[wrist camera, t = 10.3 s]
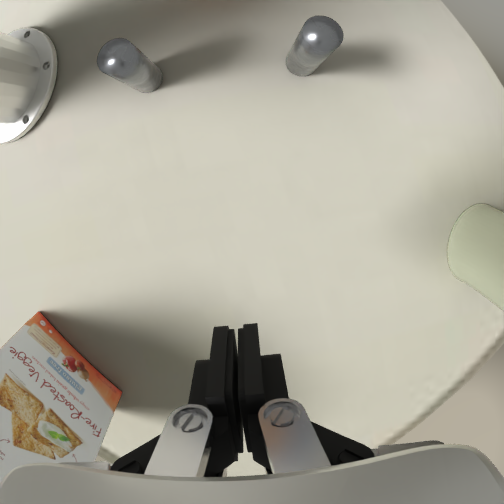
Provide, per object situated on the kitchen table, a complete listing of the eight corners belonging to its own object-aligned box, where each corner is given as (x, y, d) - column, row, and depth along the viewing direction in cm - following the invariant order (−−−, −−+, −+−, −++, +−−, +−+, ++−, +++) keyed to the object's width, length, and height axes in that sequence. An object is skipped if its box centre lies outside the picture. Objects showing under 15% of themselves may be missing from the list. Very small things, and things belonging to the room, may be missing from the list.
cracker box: (125, 389, 34) (72, 539, 14) (99, 406, 35) (47, 538, 15) (40, 306, 30) (-71, 428, 10) (20, 331, 31) (-74, 442, 11)
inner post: (135, 95, 24) (97, 78, 16) (133, 68, 23) (96, 44, 16) (163, 89, 24) (134, 69, 16) (161, 62, 23) (133, 33, 16)
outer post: (287, 76, 24) (305, 50, 17) (284, 49, 23) (300, 14, 16) (317, 76, 24) (345, 51, 17) (313, 49, 23) (340, 16, 16)
